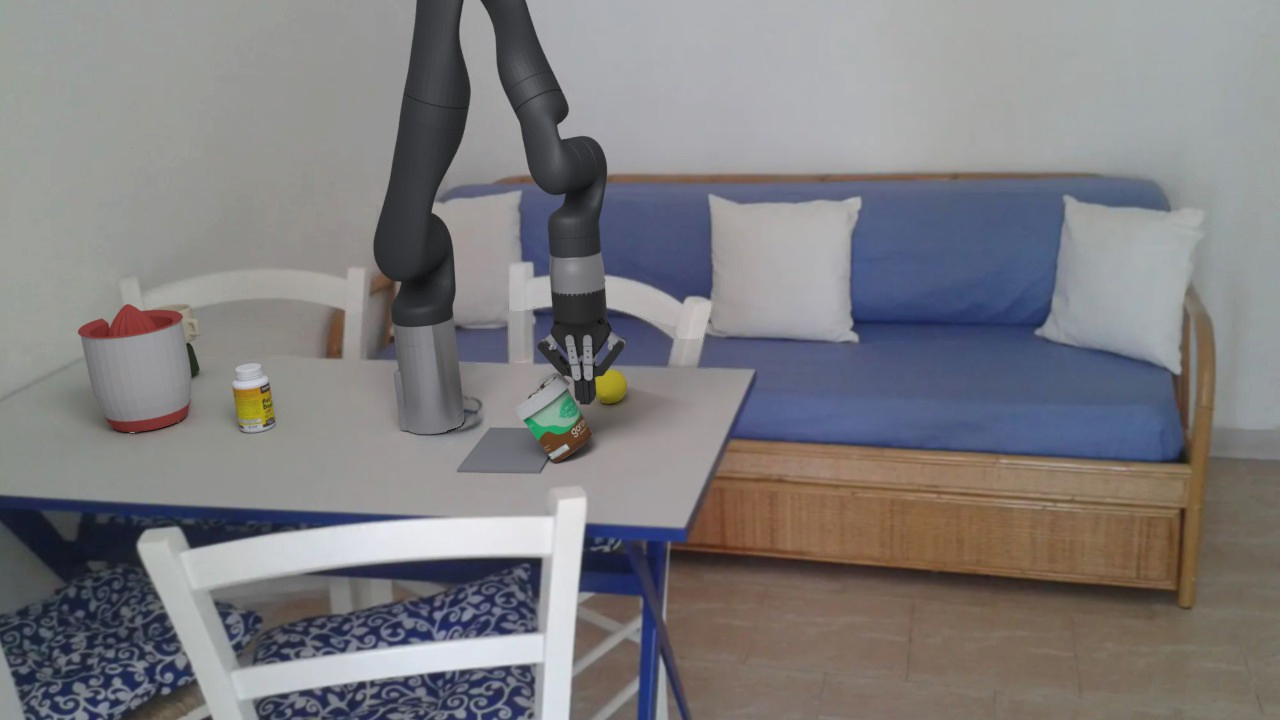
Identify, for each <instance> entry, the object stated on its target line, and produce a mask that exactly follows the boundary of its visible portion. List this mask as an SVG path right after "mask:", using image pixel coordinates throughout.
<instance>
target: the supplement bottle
mask: <svg viewBox="0 0 1280 720" xmlns="http://www.w3.org/2000/svg"><path fill="white" fill-rule="evenodd" d="M234 372H235V377H236V378H235V379H234V380H233V381H232V383H231V385H232V386H231V387H232V393H233V397H234V403H235V410H236V415H237V416H236V417H237V423H238V428H239V430H240V431H242V432H244V433H247V434H252V433H253V434H254V433H255V434H256V433H261V432H265V431H268V430H270V429H273V427H274V426H275V425H276V418H275V416H276V415H275V412H274V411H275V410H274V405H273V397H272V392H271V386H270V379H269V377H268V376H267V375H265V374H264V372H263V369H262V364H260V363H257V362H255V363H254V362H253V363H245V364H242V365H239V366H237V367H235V369H234Z"/></svg>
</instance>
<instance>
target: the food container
mask: <svg viewBox="0 0 1280 720" xmlns="http://www.w3.org/2000/svg"><path fill="white" fill-rule="evenodd" d="M536 382H537V383H538V385H539V386H538V389H537V390H536V391H535V392H533V393H531V394H529V395H528V397H527V399H526V400H525V401H523V402H522V403H520V404H518V405H516V406H515V407H514V409H515V410H516V414H517V417H518V418H519V420H520V421H521V422H522V421H523V422H524V424H526V426H527V428H529V429H530V430H531V432H532V433H533V434H534V436H535V437H536V438H537V440H538V441H539V443H540V444H541V445H542V447H543V448H544V450H545V451H546V452H547V454H548V455H549V456H550V458H549V459H550V460H552V462H553V463H554V464H557V463H559V462H561V461H563V460H564V459H565V458H567V457H569V456H570V455H572V454H573V453H574V452H576V451H577V450H579V449H580V448H581V447H583V445H585V444H586V443H587V442H588V441H589V440H590V439H591V438H592V436H593V432H592V430H591V428H590V426H589V424H588V423H587V421H586V419H585V417H584V416H583V413H582V412H581V409H580V408H579V406H578V405H577V403H576V400H575V398H574V397H573V395H572V393H571V391H570V390H569V388H568V387H569V386H570V384H571V382H570V381H569V380H568V379H567V378H566V376H562V375H561V374H560V373H559V372H558V371H557V372H554V373H553V372H552V373H551V374H547V375H546V376H545V377H542V378H540V379H538V380H537V381H536Z"/></svg>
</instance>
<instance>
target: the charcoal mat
mask: <svg viewBox="0 0 1280 720" xmlns="http://www.w3.org/2000/svg"><path fill="white" fill-rule="evenodd" d="M549 459H551V458H550V456H549V455H548V454H547V452H546V451H545V450H544V448H543V447H542V445H541V444H540V443H539V441H538V440H537V438H536V437H535V436H534V434H533V433H532V432H531V430H530V429H529V427H491V426H490V427H489V428H488V429H487V431H486V432H485V433H484V434H483V435H482V437H481V438H480V439H479V441H477V443H476V444H475V446H474V447H473V448H472V449H471V450H470V452H469V453H468V455H467V456H466V457H465V458H464V459H463V460H462V462H461V463H460V464H459V465H458V467H457V468H456V472H457V473H499V474H500V473H506V474H507V473H508V474H509V473H510V474H513V473H514V474H541V472H542V471H543V469H544V467H545V466H546V465H547V462H549Z"/></svg>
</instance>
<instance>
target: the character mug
mask: <svg viewBox="0 0 1280 720" xmlns="http://www.w3.org/2000/svg"><path fill="white" fill-rule="evenodd" d="M151 310H171V311H176V312H179V313H181V314H182V315H183V319H182V324H183V330H184V335H185V340H186V346H187V351H188V356H189V362H190V369H191V377H192V376H194V375H195V374H197V373H199V372H200V371H201V370H200V365H199V362H198V359H197V356H196V353H195V350H194V347H193V345H192V344H191V342H193V341H195V340H196V337H199V336H201V327H200V324H199V323H200V321H199V320H198V319H197V318H194V316H193V310H192V306H191V305H190V304H188V303H187V304H186V303H174V304H172V303H171V304H167V305H162V306H157V307H155V308H152V309H151Z"/></svg>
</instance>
